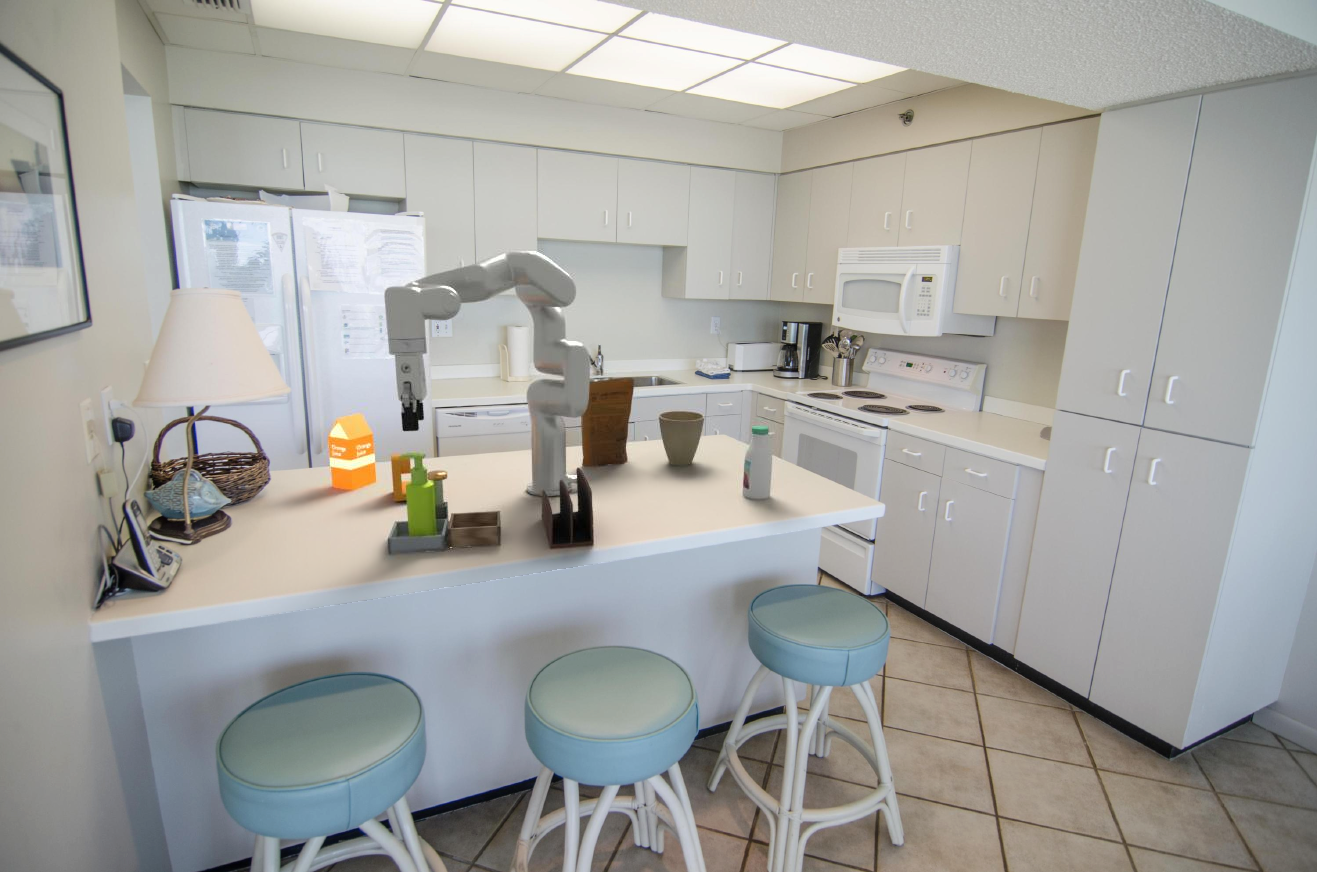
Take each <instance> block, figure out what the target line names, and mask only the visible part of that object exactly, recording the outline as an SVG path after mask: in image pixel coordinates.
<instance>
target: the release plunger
mask: <svg viewBox="0 0 1317 872" xmlns="http://www.w3.org/2000/svg"><path fill="white" fill-rule="evenodd" d="M447 478H448V471H446V470H431V471H429V472H428V471H427V479H428V481H432V482H433V483H434V498H435V507H438V506H444V502H445V501H444V485H443V483H444V480H447Z"/></svg>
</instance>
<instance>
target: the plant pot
mask: <svg viewBox="0 0 1317 872" xmlns="http://www.w3.org/2000/svg"><path fill="white" fill-rule="evenodd" d="M658 421H659V428H660V429H659V430H660V434H661V438H662V439H661V440H662V445H663V447H664V452H665V454H666V457H667V460H668V463H669V464H671V465H673V466H679V467H680V466H689V465H691V464H692V462H693V460H694V457H695V455H696V453H697V450H698V447H699V444H700V440H701V436H702V432H703V427H704V423H705V422H704V421H705V415H704V414H702V413H699V412H697V411H696V412H695V411H687V410H670V411H663V412H661V413H659V414H658Z"/></svg>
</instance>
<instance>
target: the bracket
mask: <svg viewBox="0 0 1317 872" xmlns="http://www.w3.org/2000/svg"><path fill="white" fill-rule="evenodd" d="M402 454H403V453H395V454H390V461H391V465H390V466H391V476H392V491H393V502H399V501H400V502H401V501H407V498H406V484H407V483H409V482H411V480H408V481H402V475H406V474H408V475H409V474H411V469H412V468H411V458H402V459H400V458H398V457H399V456H400V455H402Z"/></svg>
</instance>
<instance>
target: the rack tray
mask: <svg viewBox="0 0 1317 872" xmlns="http://www.w3.org/2000/svg"><path fill="white" fill-rule="evenodd" d="M448 520H449V518H448V519H436V534H437V535H435V536H418V537H409V529H408V520H399V521H394V523H393V525H392V528H391V529H390V533H389V535H388V538H387V551H388V555H401V554H402V553H403V554H416V553H415V552H419V553H427V552H426V551H435V552H445V551H446V549H447V548H446V547H447V544H446V543H447V542H448V539H447V538H448Z"/></svg>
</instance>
